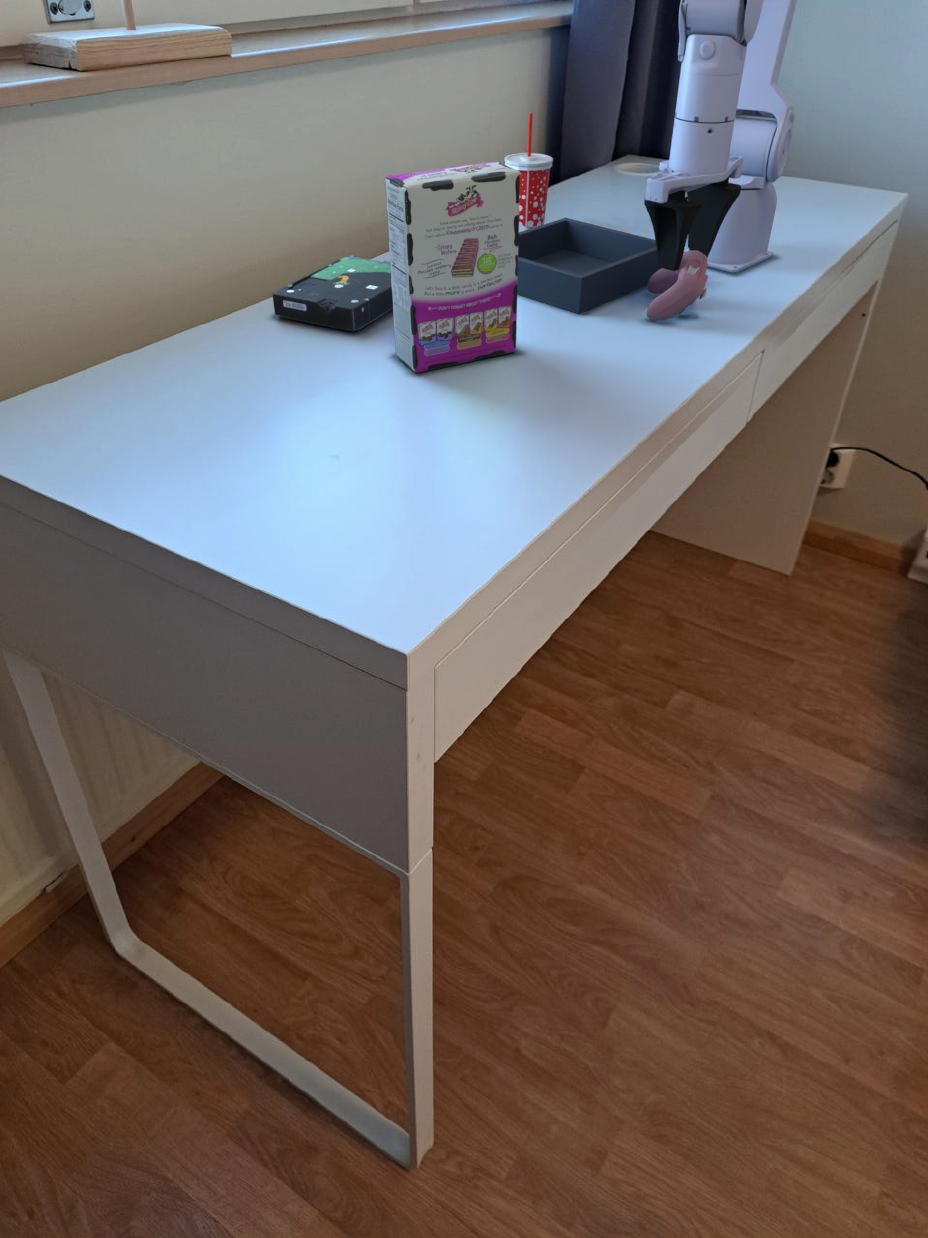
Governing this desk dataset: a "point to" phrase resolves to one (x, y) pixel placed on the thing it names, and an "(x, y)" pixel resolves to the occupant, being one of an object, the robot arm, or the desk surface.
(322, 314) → the disk drive
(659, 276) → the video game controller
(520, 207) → the beverage cup
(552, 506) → the desk surface
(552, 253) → the bin
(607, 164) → the desk surface
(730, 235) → the robot arm
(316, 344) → the desk surface
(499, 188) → the candy bar box
